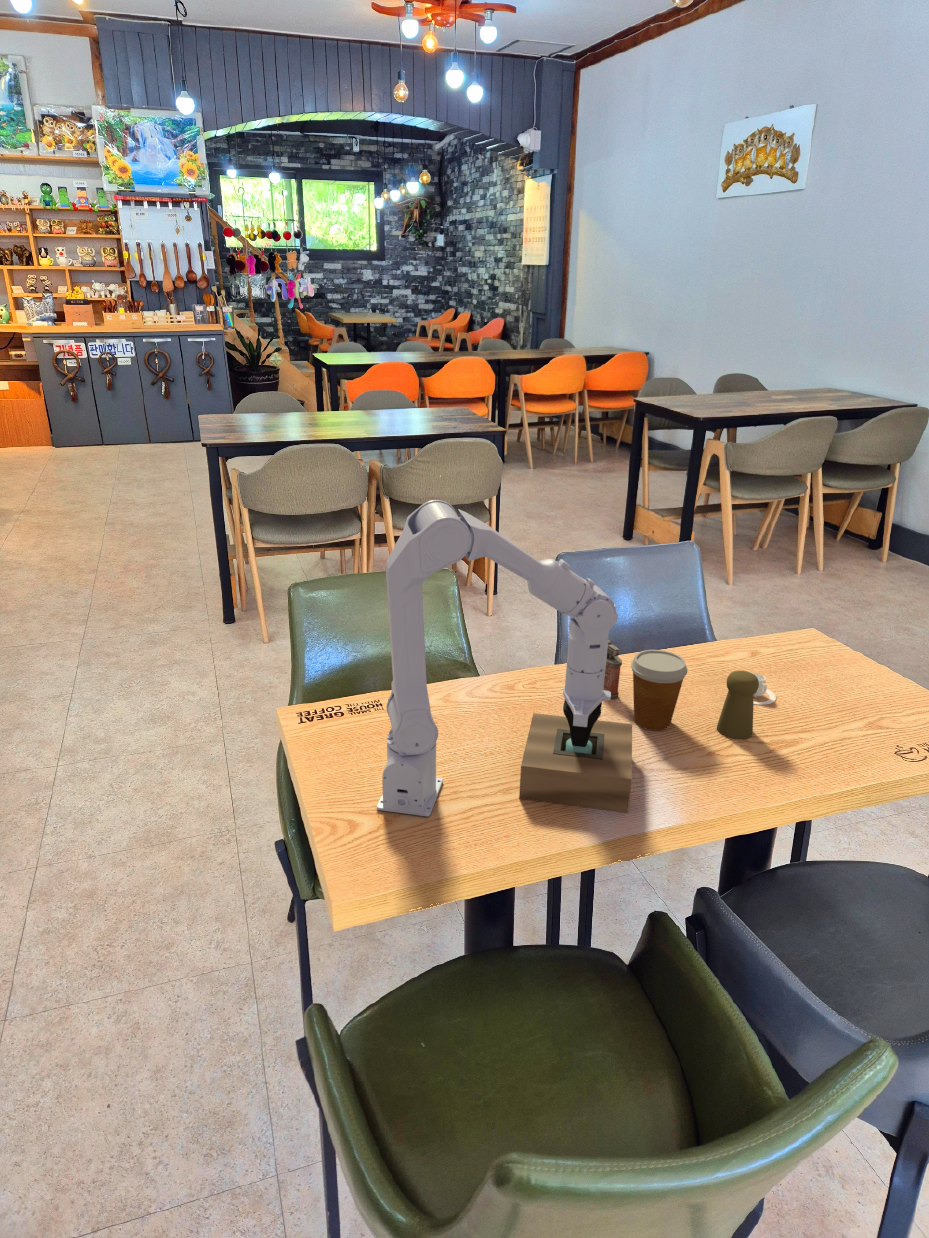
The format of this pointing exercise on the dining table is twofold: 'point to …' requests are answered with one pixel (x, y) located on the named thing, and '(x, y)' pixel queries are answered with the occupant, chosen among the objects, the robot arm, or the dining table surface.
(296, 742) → the dining table surface
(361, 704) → the dining table surface
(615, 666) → the lighter
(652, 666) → the disposable coffee cup
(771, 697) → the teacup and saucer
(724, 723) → the olive green pawn
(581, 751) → the peg
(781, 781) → the dining table surface
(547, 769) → the block
